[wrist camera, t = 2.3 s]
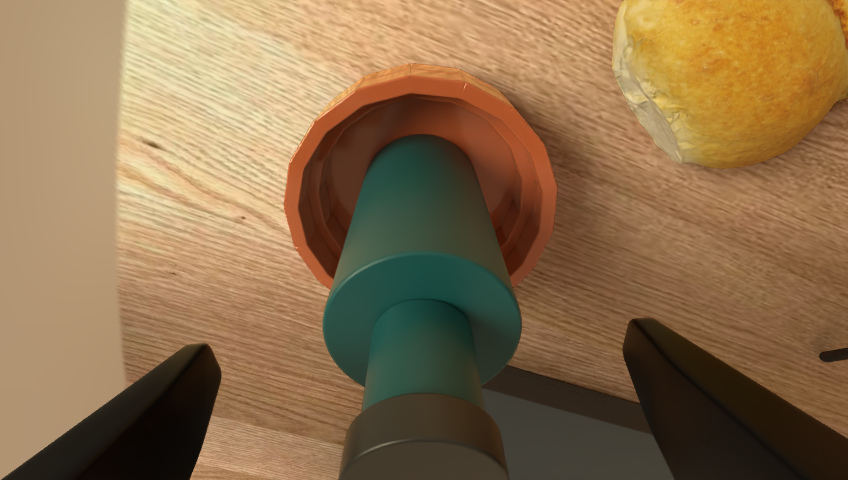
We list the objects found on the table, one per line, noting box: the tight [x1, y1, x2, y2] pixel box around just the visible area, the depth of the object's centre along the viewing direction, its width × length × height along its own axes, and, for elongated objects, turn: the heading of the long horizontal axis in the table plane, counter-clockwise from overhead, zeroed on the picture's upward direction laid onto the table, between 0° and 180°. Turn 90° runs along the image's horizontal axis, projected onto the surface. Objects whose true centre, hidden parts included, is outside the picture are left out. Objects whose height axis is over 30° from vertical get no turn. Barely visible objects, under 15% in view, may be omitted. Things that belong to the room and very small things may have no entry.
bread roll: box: [612, 0, 848, 169], centre depth 12 cm, size 8×9×4 cm
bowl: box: [284, 63, 558, 290], centre depth 15 cm, size 9×9×3 cm
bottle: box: [323, 134, 522, 480], centre depth 11 cm, size 4×4×11 cm
